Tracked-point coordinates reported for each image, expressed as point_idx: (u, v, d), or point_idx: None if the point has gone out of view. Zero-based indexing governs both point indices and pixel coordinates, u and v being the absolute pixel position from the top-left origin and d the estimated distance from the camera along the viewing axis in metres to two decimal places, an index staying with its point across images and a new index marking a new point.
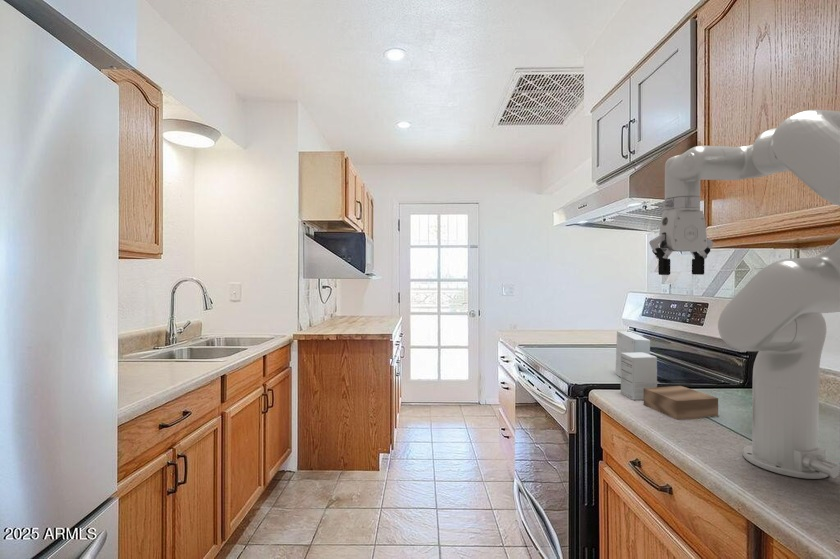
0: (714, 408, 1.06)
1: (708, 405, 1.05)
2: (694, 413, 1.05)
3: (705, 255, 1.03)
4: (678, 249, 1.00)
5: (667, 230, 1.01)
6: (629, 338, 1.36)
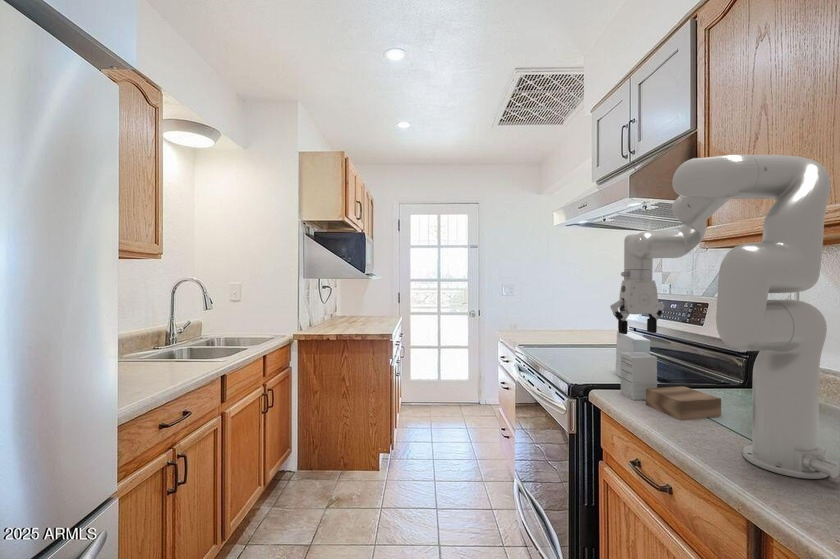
0: (717, 408, 1.05)
1: (710, 406, 1.05)
2: (697, 414, 1.04)
3: (657, 317, 1.23)
4: (634, 313, 1.20)
5: (625, 297, 1.21)
6: (629, 338, 1.36)
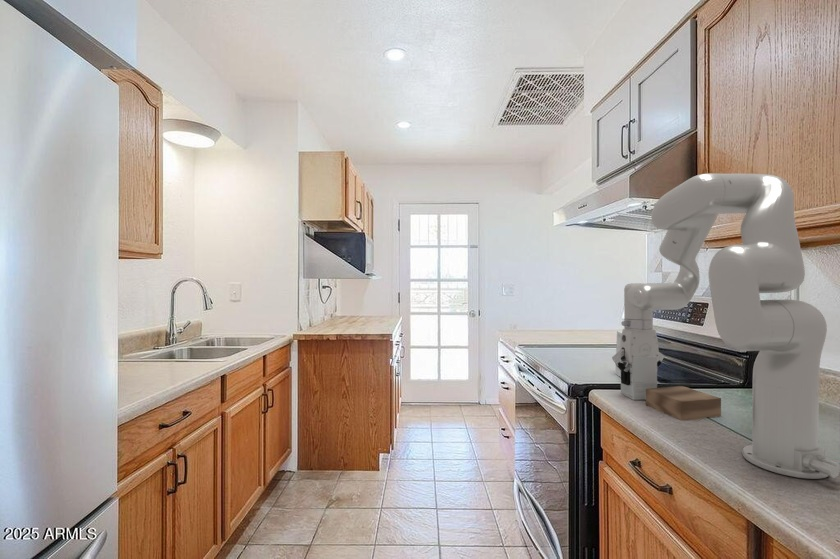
0: (717, 408, 1.06)
1: (711, 405, 1.05)
2: (698, 414, 1.04)
3: None
4: None
5: (625, 346, 1.21)
6: None
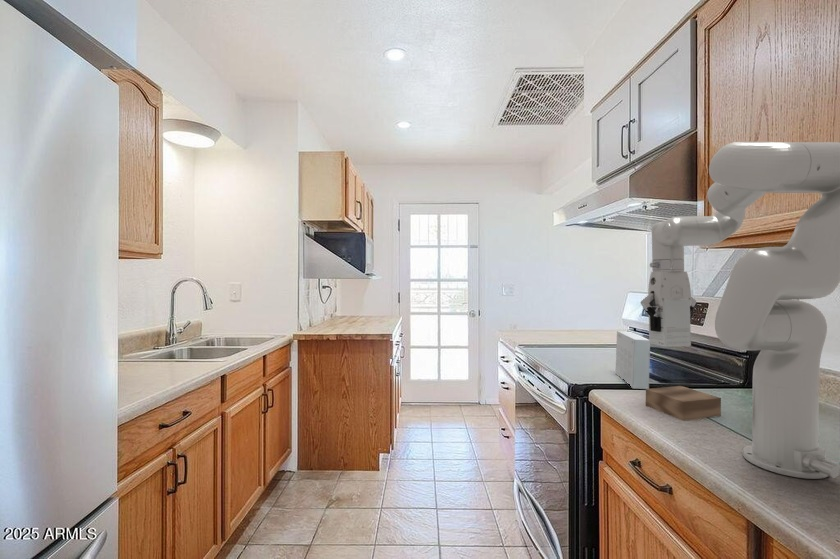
0: (717, 408, 1.06)
1: (711, 405, 1.05)
2: (699, 414, 1.04)
3: None
4: None
5: (655, 289, 1.11)
6: (629, 338, 1.36)
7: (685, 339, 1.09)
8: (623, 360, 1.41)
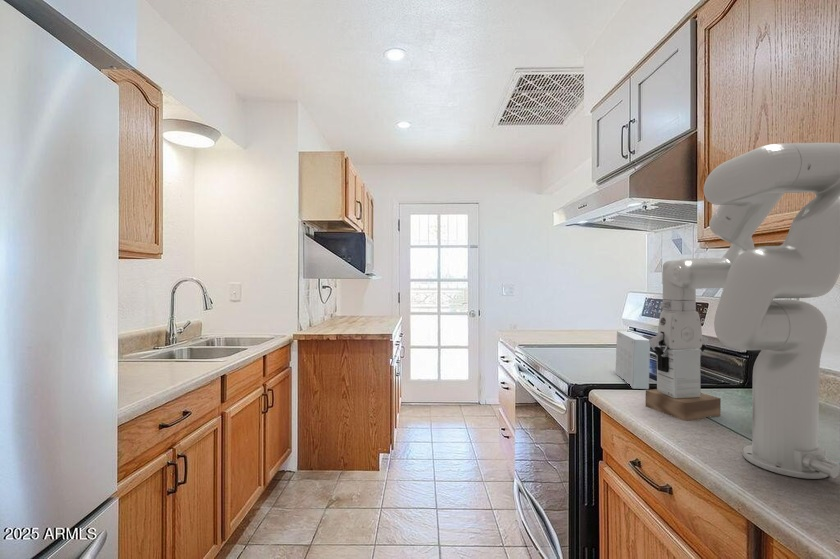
0: (717, 408, 1.06)
1: (711, 406, 1.05)
2: (700, 415, 1.04)
3: (701, 352, 1.10)
4: (676, 349, 1.07)
5: (665, 330, 1.09)
6: (629, 338, 1.36)
7: (695, 390, 1.07)
8: (623, 360, 1.41)
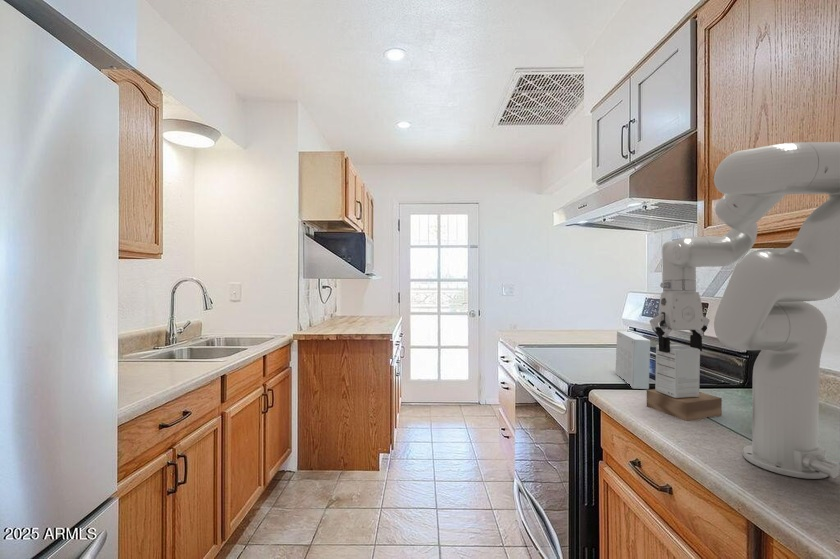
0: (718, 408, 1.06)
1: (712, 406, 1.05)
2: (701, 414, 1.04)
3: (702, 333, 1.10)
4: (677, 329, 1.07)
5: (666, 310, 1.08)
6: (629, 338, 1.36)
7: (694, 390, 1.07)
8: (623, 360, 1.41)
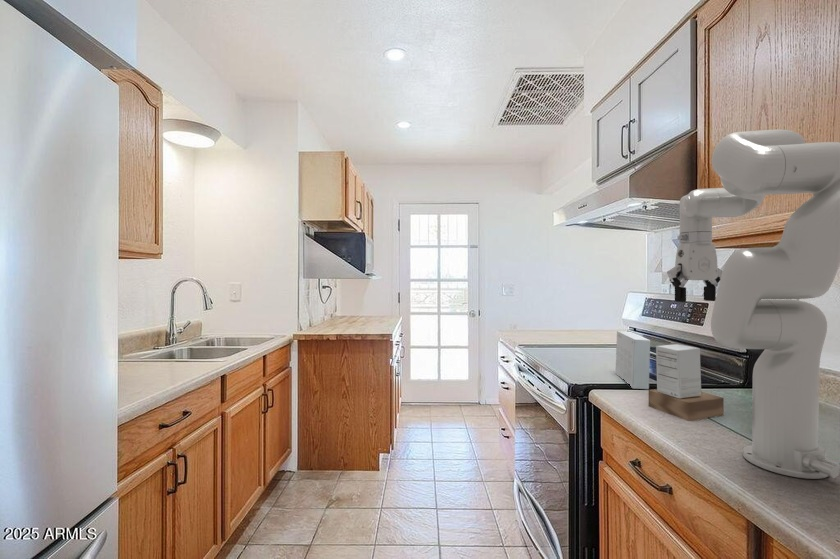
0: (720, 408, 1.06)
1: (714, 405, 1.06)
2: (703, 414, 1.04)
3: (716, 283, 1.14)
4: (693, 279, 1.11)
5: (683, 261, 1.12)
6: (629, 338, 1.36)
7: (696, 389, 1.07)
8: (623, 360, 1.41)
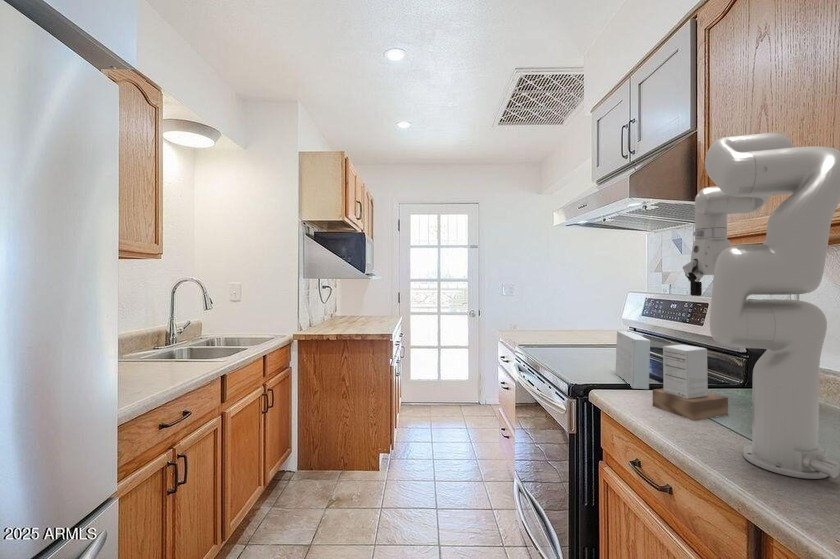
0: (724, 407, 1.06)
1: (719, 405, 1.06)
2: (708, 414, 1.05)
3: None
4: (709, 274, 1.15)
5: (698, 257, 1.16)
6: (629, 338, 1.36)
7: (703, 389, 1.07)
8: (623, 360, 1.41)
